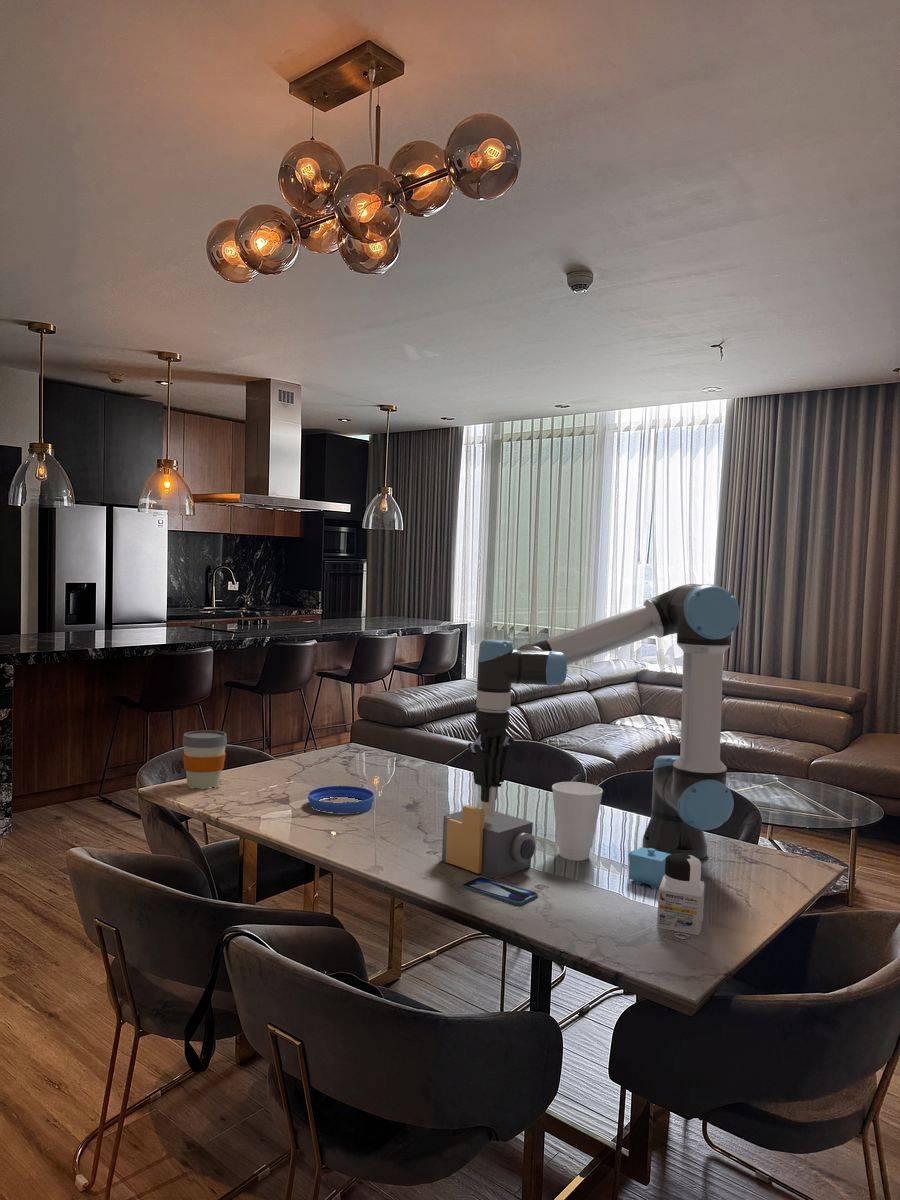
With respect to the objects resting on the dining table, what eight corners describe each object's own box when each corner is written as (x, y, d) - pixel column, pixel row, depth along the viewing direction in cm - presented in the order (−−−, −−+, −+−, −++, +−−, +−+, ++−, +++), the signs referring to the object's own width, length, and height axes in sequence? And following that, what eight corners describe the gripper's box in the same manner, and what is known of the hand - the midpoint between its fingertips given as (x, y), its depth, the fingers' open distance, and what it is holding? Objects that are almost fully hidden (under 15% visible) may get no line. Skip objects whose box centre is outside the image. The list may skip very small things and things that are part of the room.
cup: (571, 867, 187) (574, 796, 187) (538, 851, 197) (541, 784, 197) (610, 859, 193) (613, 791, 193) (576, 844, 203) (579, 779, 203)
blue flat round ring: (365, 796, 240) (366, 784, 240) (380, 814, 223) (381, 801, 223) (303, 799, 234) (303, 786, 234) (313, 817, 217) (313, 804, 217)
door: (482, 873, 180) (484, 810, 180) (477, 874, 179) (480, 811, 179) (446, 860, 188) (449, 799, 187) (441, 861, 186) (444, 800, 186)
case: (539, 869, 185) (541, 822, 184) (505, 882, 176) (507, 832, 176) (477, 848, 197) (478, 804, 197) (442, 859, 188) (444, 813, 188)
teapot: (686, 887, 178) (687, 852, 177) (675, 896, 173) (677, 860, 172) (633, 874, 185) (634, 840, 184) (621, 881, 180) (623, 847, 179)
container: (656, 928, 156) (660, 859, 156) (661, 913, 163) (664, 847, 163) (699, 936, 153) (703, 866, 153) (702, 920, 160) (706, 853, 160)
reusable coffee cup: (171, 785, 242) (173, 733, 241) (206, 777, 252) (208, 728, 252) (199, 793, 235) (201, 740, 234) (234, 785, 245) (236, 734, 245)
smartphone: (480, 875, 178) (539, 893, 169) (480, 880, 178) (539, 897, 169) (459, 884, 173) (519, 903, 163) (459, 889, 173) (519, 908, 163)
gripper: (499, 705, 191) (494, 806, 192) (460, 709, 182) (455, 816, 183) (524, 709, 186) (519, 814, 187) (485, 714, 177) (480, 824, 177)
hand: (487, 815), depth 185 cm, fingers closed
